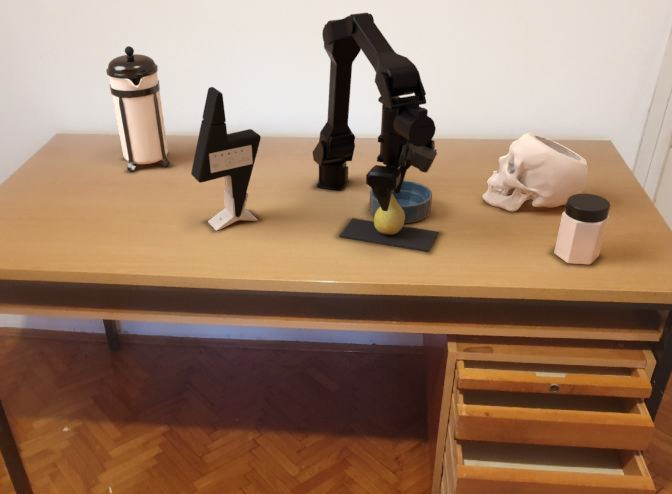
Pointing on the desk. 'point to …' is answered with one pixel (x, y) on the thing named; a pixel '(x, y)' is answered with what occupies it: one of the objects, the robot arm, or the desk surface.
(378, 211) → the fruit
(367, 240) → the place mat
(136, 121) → the coffee press
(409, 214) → the bowl
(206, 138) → the award
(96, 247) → the desk surface
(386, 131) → the robot arm
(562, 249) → the jar
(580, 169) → the skull planter
